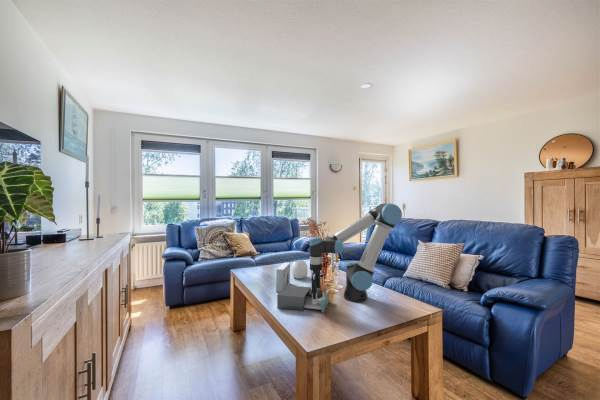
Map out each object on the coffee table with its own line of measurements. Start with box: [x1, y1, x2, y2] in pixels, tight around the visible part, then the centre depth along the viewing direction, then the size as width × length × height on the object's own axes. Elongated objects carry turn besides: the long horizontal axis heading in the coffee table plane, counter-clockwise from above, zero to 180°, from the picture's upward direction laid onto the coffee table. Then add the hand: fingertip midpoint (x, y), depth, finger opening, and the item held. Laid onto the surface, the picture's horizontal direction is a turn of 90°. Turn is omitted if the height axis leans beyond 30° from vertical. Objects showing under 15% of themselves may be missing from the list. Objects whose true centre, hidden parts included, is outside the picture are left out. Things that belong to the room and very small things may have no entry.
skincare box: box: [275, 262, 291, 293], centre depth 193 cm, size 21×6×16 cm, turn 168°
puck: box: [310, 289, 323, 298], centre depth 158 cm, size 8×8×2 cm
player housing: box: [276, 285, 312, 312], centre depth 162 cm, size 16×18×8 cm
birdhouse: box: [304, 290, 330, 314], centre depth 159 cm, size 16×18×7 cm
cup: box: [291, 259, 309, 280], centre depth 217 cm, size 13×13×14 cm
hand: (316, 301), depth 158 cm, fingers closed on puck, 7 cm apart
